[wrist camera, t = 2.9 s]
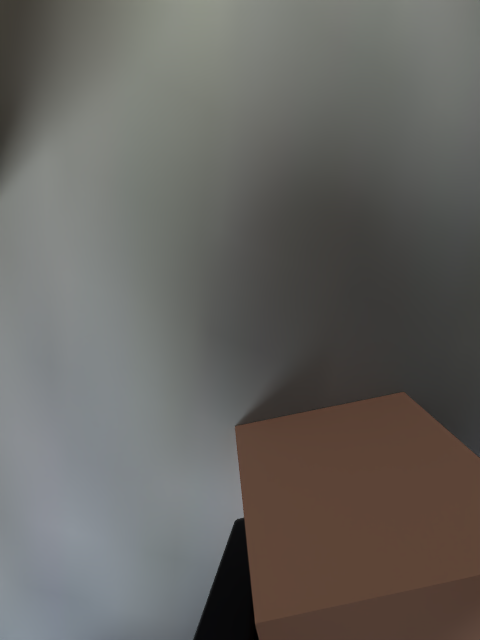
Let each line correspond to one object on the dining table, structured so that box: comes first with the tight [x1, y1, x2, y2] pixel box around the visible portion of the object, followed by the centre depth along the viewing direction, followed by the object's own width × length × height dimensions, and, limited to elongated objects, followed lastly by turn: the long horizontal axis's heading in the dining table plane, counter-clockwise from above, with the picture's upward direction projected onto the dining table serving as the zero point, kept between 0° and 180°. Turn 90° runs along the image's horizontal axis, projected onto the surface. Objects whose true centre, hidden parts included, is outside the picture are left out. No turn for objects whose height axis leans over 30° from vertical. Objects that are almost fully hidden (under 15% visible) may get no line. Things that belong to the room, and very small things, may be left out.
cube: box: [235, 392, 480, 640], centre depth 7 cm, size 4×4×4 cm
